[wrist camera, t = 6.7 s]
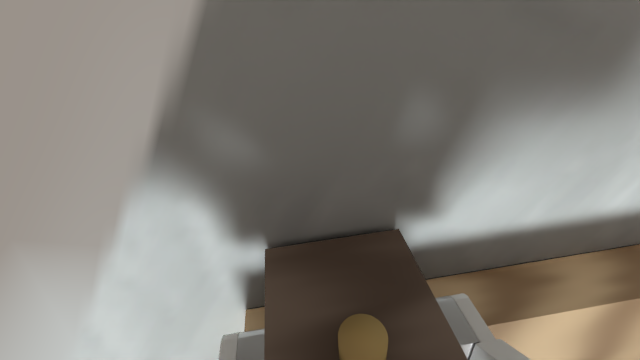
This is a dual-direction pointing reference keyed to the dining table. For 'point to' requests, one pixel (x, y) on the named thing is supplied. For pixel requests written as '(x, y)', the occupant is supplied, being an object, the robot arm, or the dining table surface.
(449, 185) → the dining table surface
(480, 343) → the robot arm
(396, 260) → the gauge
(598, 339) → the board
